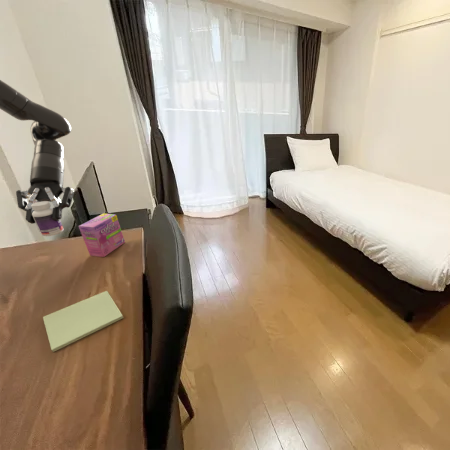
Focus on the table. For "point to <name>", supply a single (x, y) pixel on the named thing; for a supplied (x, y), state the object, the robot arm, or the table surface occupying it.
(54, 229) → the pill bottle
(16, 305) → the table surface
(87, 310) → the notepad
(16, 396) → the table surface
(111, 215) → the box
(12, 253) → the table surface
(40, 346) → the table surface
